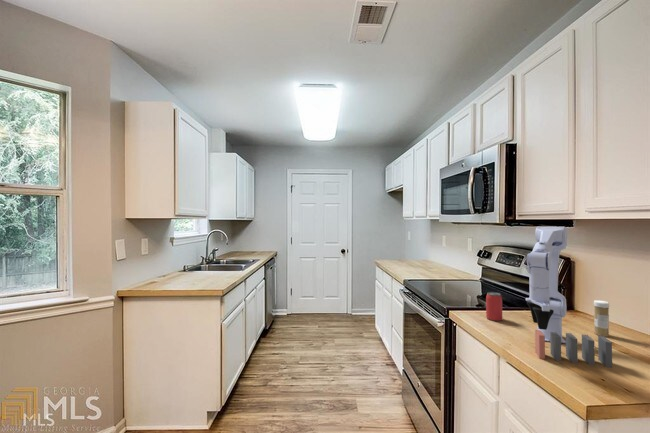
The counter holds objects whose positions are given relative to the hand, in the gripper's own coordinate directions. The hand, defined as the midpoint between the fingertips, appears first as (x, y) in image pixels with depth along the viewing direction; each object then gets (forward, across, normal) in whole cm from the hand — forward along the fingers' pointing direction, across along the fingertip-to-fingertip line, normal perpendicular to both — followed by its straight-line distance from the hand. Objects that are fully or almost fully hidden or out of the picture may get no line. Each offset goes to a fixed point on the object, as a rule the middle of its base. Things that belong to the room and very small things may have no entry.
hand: (539, 325), depth 107 cm
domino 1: (+10, 0, +4) cm, 11 cm away
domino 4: (+10, 0, +18) cm, 21 cm away
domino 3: (+10, 0, +14) cm, 17 cm away
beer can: (+11, -36, -9) cm, 39 cm away
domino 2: (+10, 0, +9) cm, 14 cm away
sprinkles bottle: (+11, -28, +28) cm, 41 cm away
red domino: (+10, 0, 0) cm, 10 cm away
